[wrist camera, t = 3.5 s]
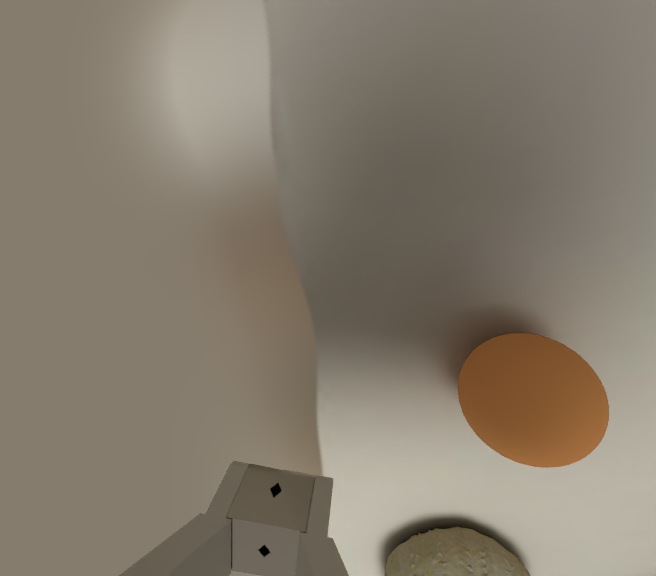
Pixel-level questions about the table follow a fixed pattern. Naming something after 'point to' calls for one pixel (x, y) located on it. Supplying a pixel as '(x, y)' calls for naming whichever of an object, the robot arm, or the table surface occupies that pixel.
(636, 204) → the table surface
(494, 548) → the sea urchin shell
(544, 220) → the table surface
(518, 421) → the ball
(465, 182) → the table surface
